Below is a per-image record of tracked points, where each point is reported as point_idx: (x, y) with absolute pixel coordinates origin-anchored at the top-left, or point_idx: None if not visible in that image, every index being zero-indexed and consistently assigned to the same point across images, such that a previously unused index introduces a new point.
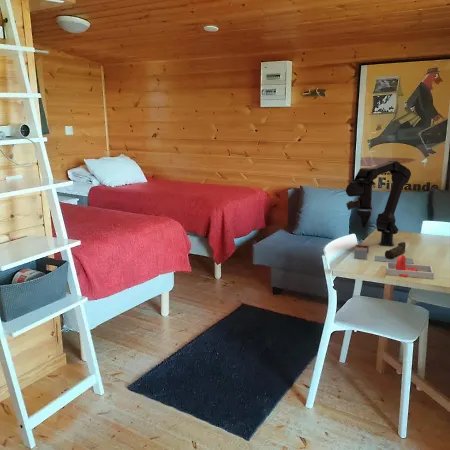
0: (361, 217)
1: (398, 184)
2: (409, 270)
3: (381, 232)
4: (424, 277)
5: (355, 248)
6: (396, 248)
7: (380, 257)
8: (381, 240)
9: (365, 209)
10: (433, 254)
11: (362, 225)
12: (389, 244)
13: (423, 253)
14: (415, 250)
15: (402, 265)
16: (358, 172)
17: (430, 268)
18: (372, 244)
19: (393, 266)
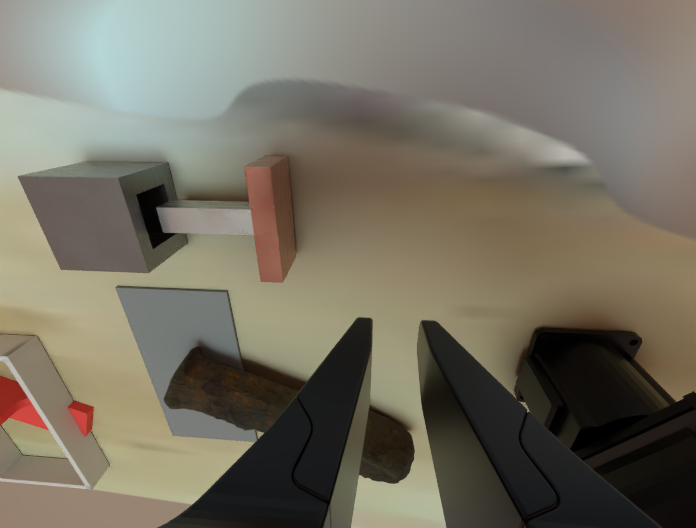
0: (212, 519)
1: None
2: (37, 414)
3: (637, 412)
4: (3, 441)
5: (257, 161)
6: (264, 428)
7: (200, 319)
8: (578, 358)
9: None
10: (374, 506)
11: (343, 340)
12: (517, 385)
13: (380, 483)
14: (432, 466)
15: None
16: None
17: (62, 481)
18: (565, 281)
19: (36, 368)
